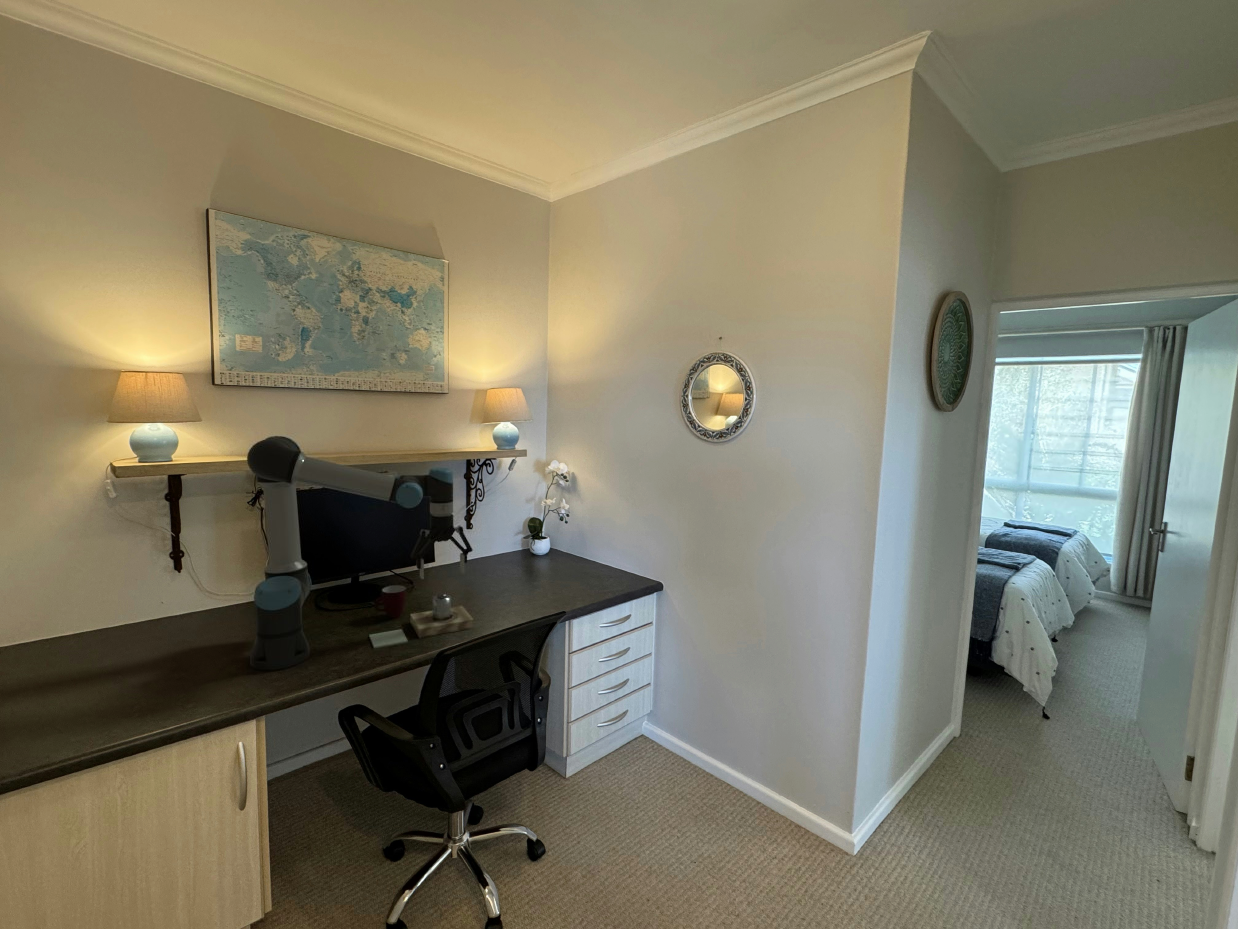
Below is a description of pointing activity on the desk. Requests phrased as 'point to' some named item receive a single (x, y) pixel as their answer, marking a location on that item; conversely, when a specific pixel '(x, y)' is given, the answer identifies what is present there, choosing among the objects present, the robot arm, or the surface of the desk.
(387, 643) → the mat
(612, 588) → the desk surface
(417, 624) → the housing
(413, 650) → the desk surface
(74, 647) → the desk surface
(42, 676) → the desk surface
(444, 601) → the gray knobbed peg
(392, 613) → the mug
